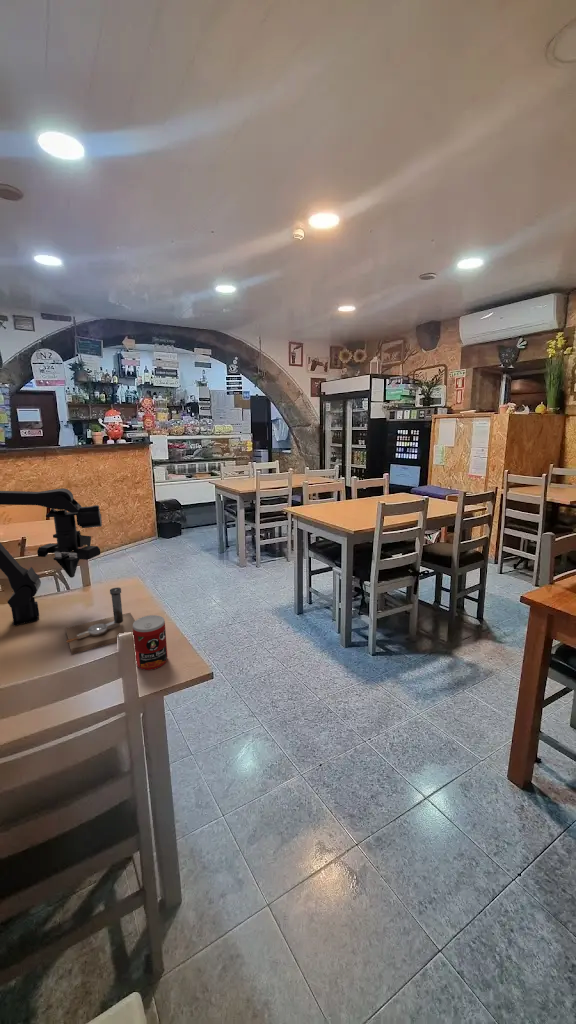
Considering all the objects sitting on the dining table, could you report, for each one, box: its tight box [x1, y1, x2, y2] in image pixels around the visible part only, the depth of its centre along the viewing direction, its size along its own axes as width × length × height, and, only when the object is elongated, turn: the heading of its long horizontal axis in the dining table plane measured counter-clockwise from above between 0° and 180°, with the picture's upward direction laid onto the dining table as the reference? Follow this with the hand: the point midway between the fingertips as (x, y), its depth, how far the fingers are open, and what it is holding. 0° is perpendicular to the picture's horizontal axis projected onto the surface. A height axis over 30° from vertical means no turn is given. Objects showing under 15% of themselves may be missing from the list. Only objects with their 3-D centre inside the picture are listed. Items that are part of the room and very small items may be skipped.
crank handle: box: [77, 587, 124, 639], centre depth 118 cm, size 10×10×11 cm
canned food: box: [133, 614, 168, 671], centre depth 105 cm, size 8×8×11 cm
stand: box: [65, 612, 136, 655], centre depth 120 cm, size 19×14×2 cm
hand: (72, 577), depth 132 cm, fingers closed
